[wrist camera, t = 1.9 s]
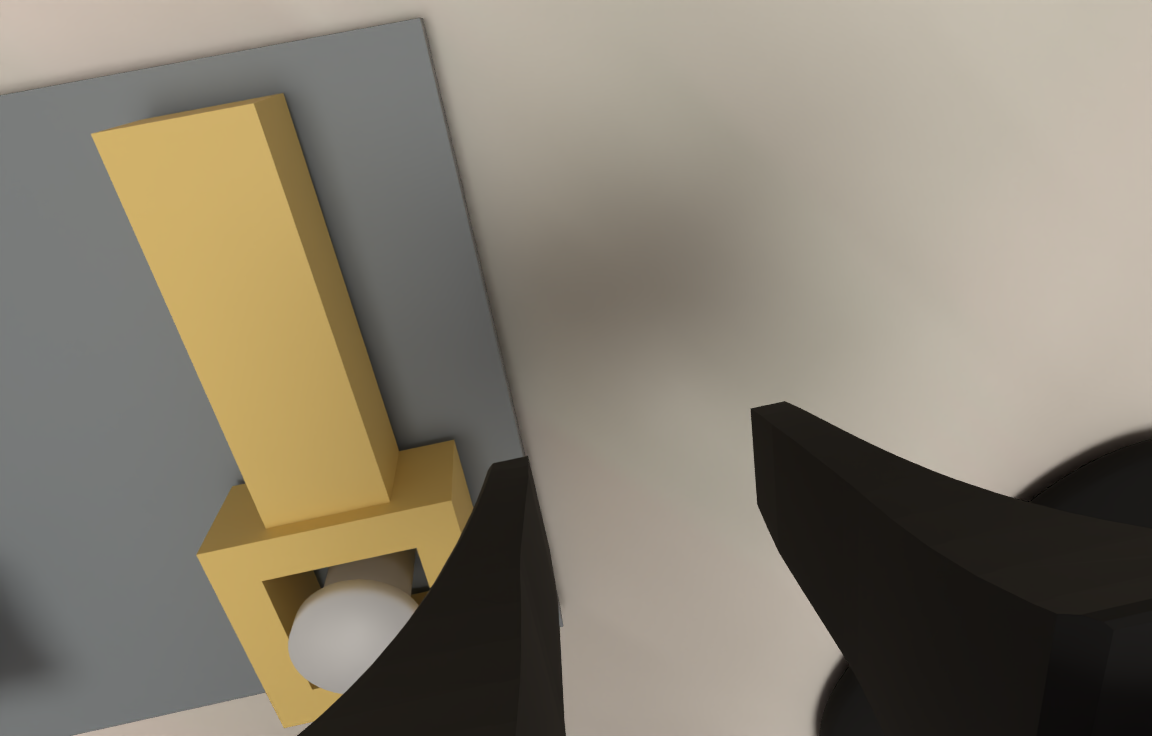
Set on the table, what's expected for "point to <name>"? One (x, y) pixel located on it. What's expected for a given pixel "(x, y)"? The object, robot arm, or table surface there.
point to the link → (277, 375)
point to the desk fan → (1099, 489)
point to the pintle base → (176, 396)
